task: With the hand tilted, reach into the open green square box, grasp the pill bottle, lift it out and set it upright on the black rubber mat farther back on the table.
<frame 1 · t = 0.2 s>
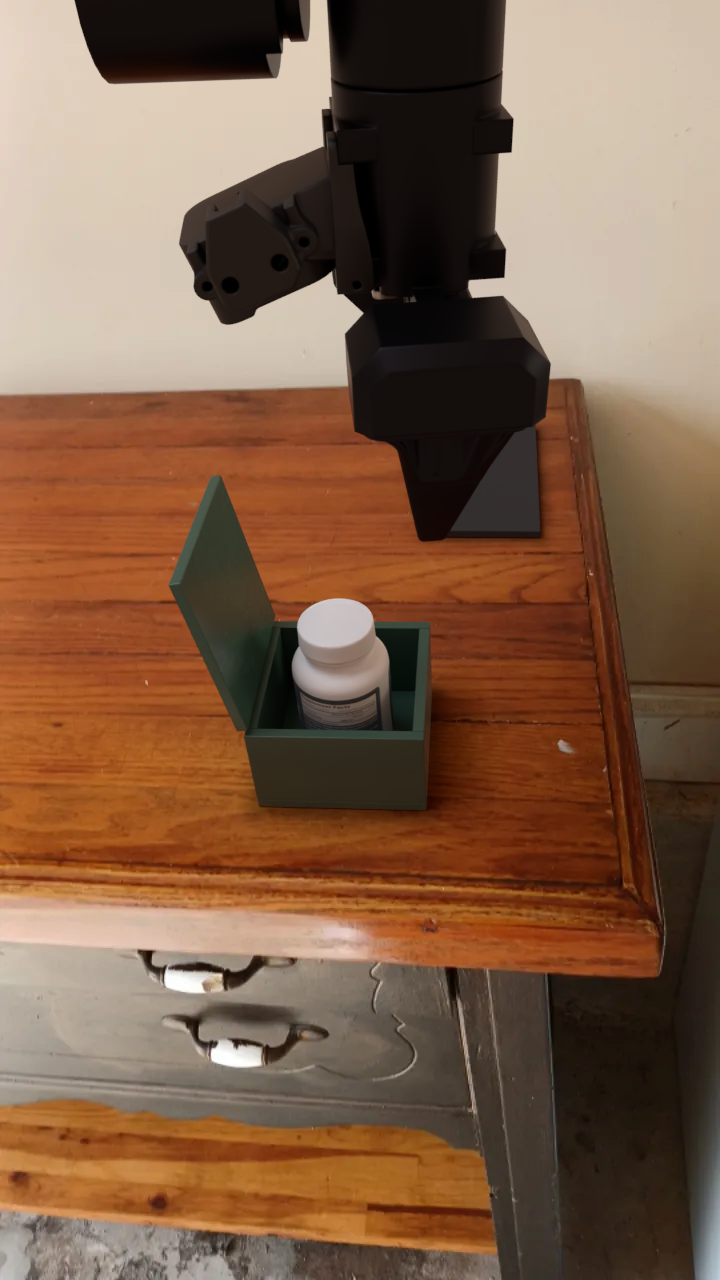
hand: (417, 479, 42), 18 cm above the table, tool pointing down, fingers open, 9 cm apart
mat: (486, 479, 76), on the table
warmer lid: (228, 602, 49), point 11 cm above the table, hinge at 100.0°
pill bottle: (349, 741, 55), resting on green square box
green square box: (349, 746, 55), on the table
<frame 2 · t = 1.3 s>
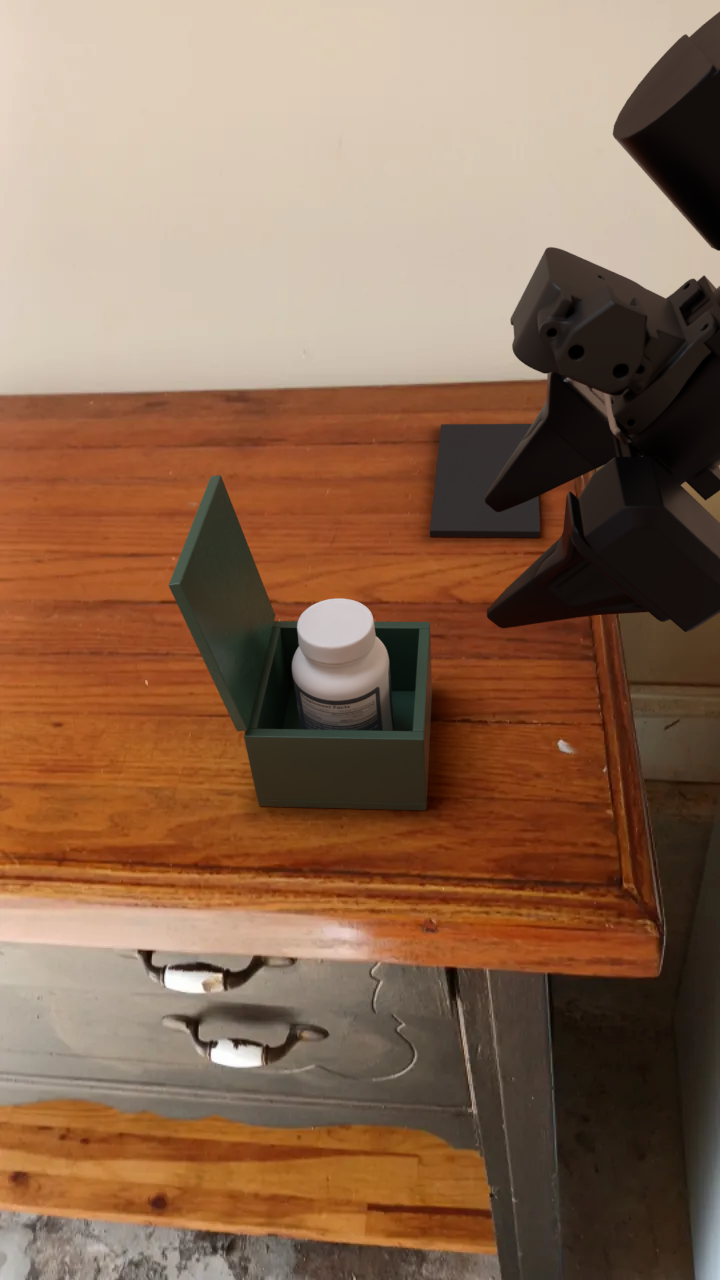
hand: (491, 558, 46), 13 cm above the table, tool tilted 45°, fingers open, 9 cm apart
nothing on the table moved.
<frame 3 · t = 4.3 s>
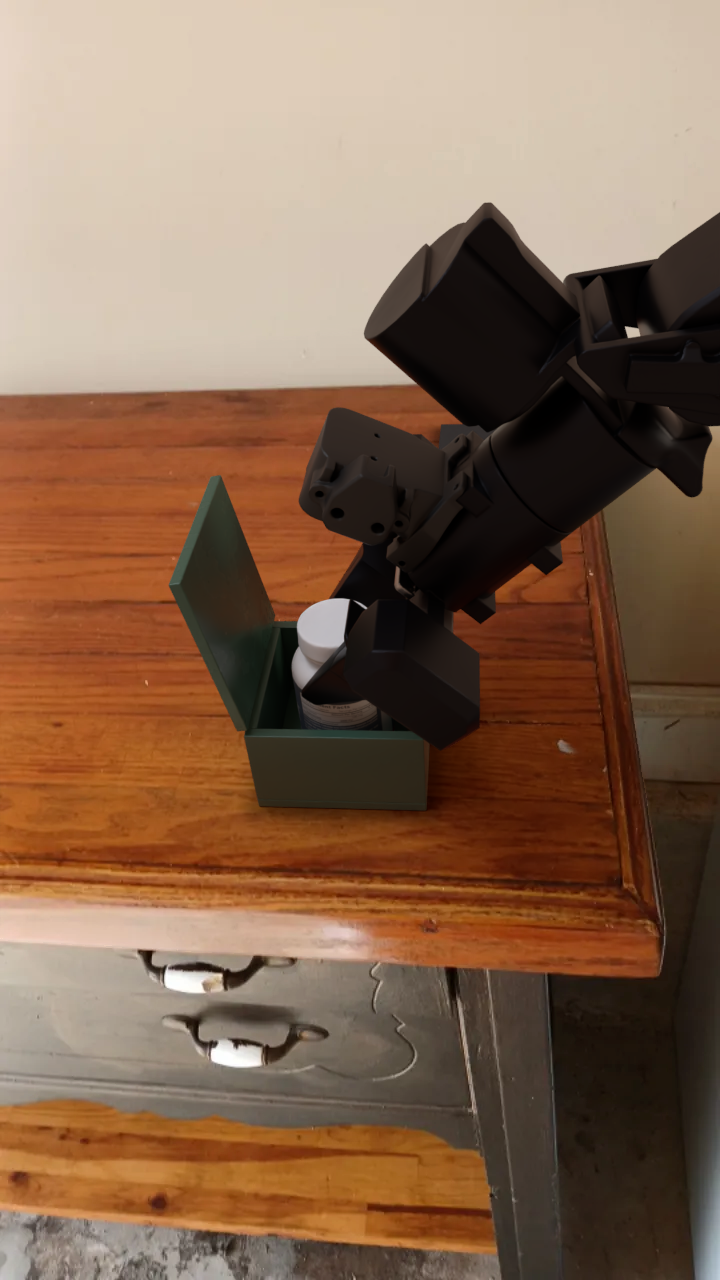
hand: (314, 662, 51), 7 cm above the table, tool tilted 45°, fingers closed on pill bottle, 5 cm apart
pill bottle: (349, 741, 55), resting on green square box, touching gripper
everything else where it was.
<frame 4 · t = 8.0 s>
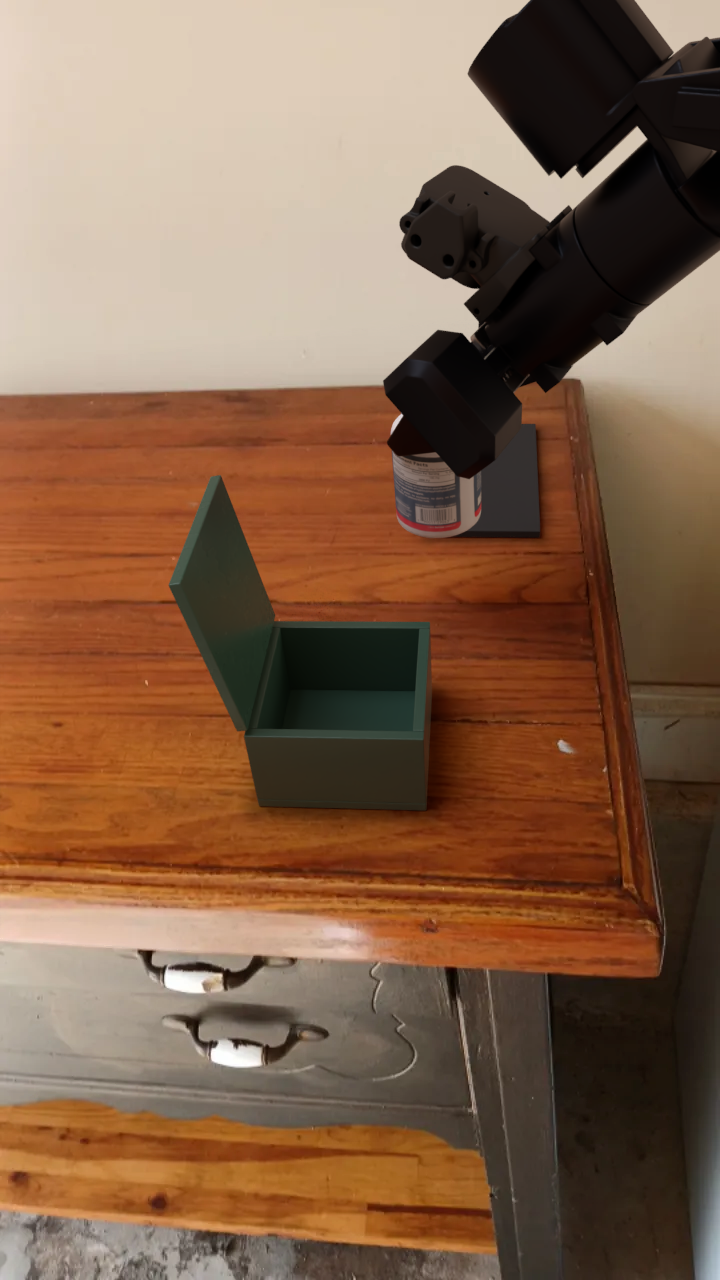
hand: (414, 426, 56), 13 cm above the table, tool tilted 45°, fingers closed on pill bottle, 5 cm apart
pill bottle: (438, 519, 60), point 7 cm above the table, touching gripper
everything else where it was.
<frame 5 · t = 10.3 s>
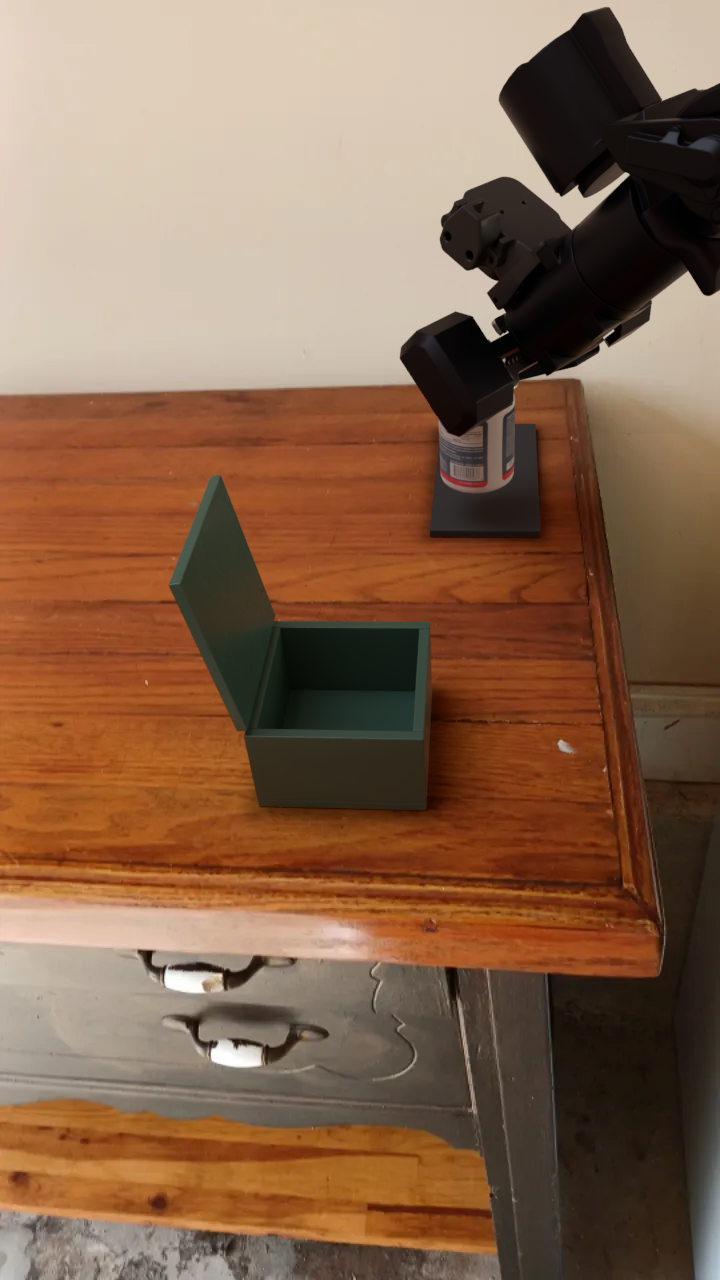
hand: (461, 394, 66), 10 cm above the table, tool tilted 45°, fingers closed on pill bottle, 5 cm apart
pill bottle: (476, 478, 69), point 4 cm above the table, touching gripper
everything else where it was.
when the fingers open (7 cm above the table, at t = 11.7 s): pill bottle stays where it is, resting on mat.
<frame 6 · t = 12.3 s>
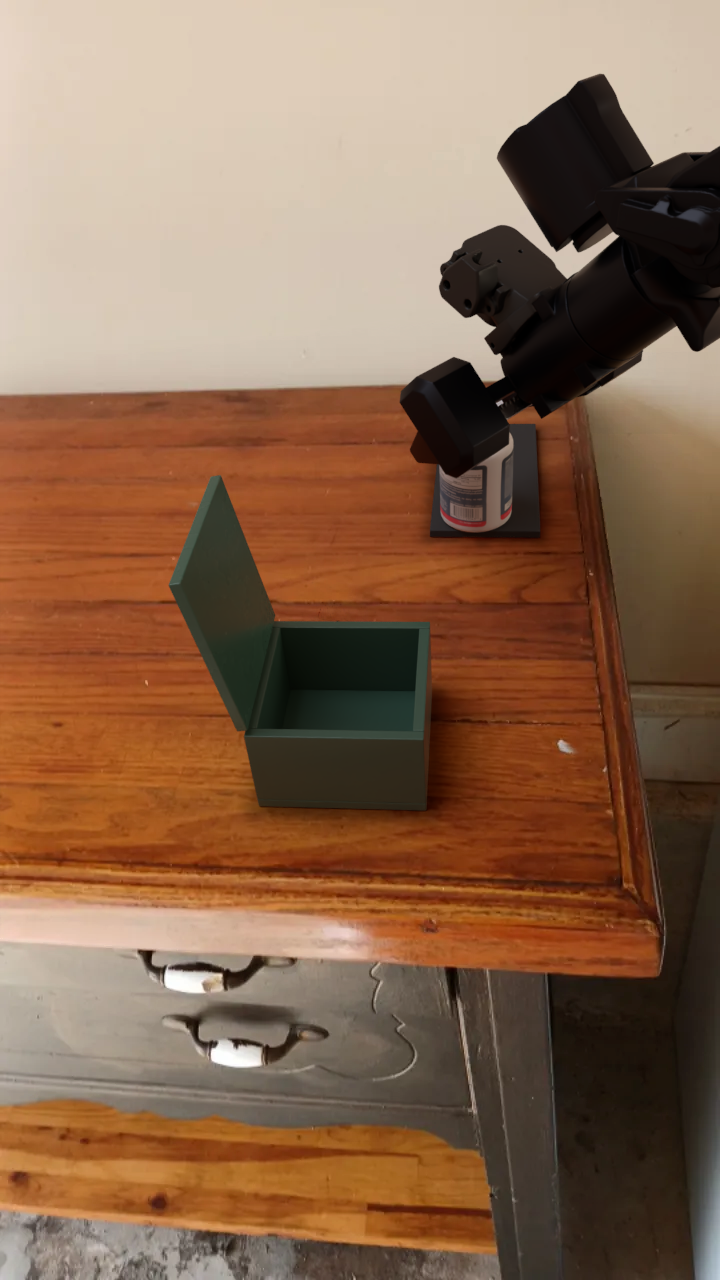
hand: (458, 429, 68), 7 cm above the table, tool tilted 45°, fingers open, 9 cm apart
pill bottle: (475, 516, 71), resting on mat
everything else where it was.
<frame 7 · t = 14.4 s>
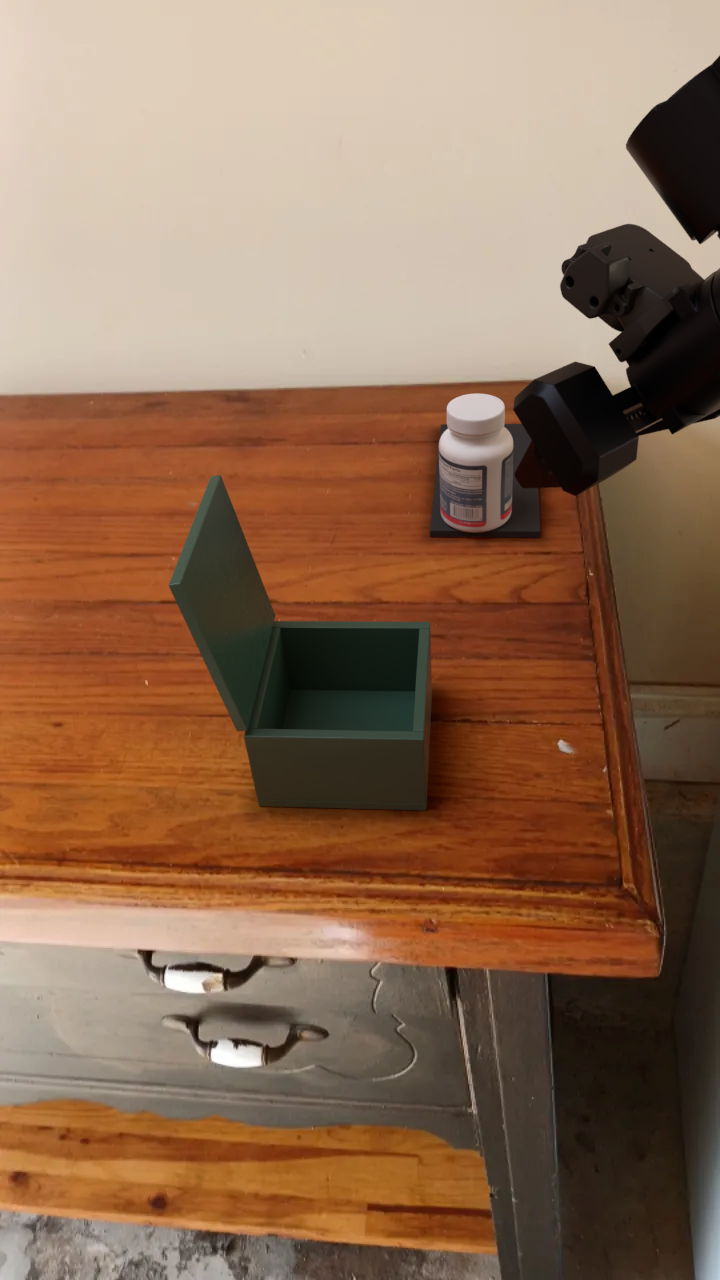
hand: (567, 456, 61), 9 cm above the table, tool tilted 40°, fingers open, 9 cm apart
nothing on the table moved.
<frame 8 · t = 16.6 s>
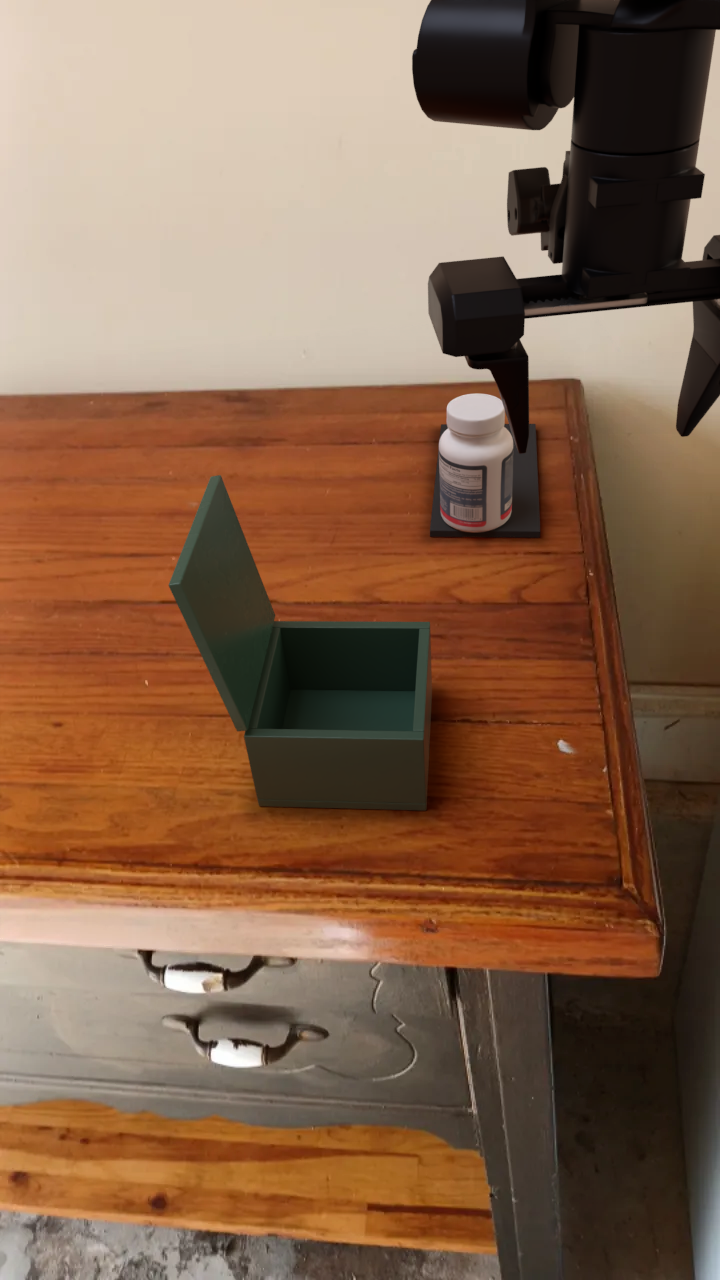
hand: (601, 441, 54), 13 cm above the table, tool pointing down, fingers open, 9 cm apart
nothing on the table moved.
at the end: pill bottle inside the target area on the mat (5.5 cm from its centre), point 0.4 cm above the mat's base; pill bottle tilted 0°; warmer lid at +100° (first picture: +100°) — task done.
